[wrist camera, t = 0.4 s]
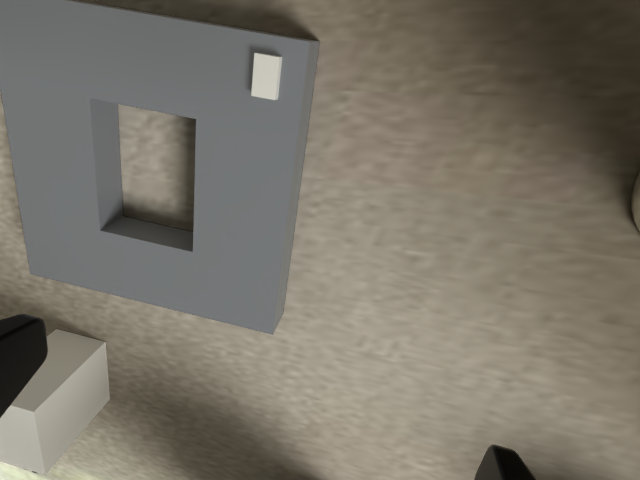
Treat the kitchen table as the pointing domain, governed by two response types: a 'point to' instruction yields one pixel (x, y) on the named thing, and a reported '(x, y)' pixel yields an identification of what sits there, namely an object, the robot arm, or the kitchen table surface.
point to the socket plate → (105, 166)
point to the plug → (55, 402)
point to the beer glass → (636, 202)
